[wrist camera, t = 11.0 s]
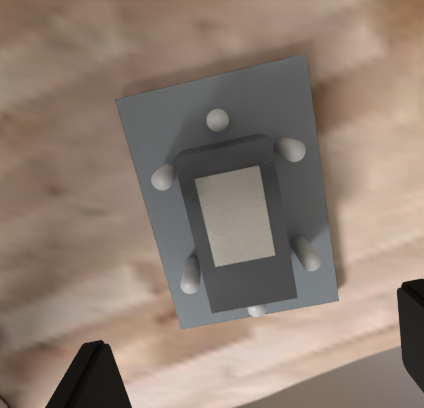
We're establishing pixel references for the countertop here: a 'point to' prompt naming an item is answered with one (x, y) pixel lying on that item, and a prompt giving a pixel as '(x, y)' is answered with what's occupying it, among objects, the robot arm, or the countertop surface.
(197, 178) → the drive
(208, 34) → the countertop surface
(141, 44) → the countertop surface
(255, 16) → the countertop surface
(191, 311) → the peg board
